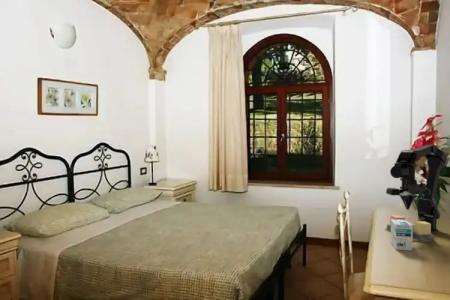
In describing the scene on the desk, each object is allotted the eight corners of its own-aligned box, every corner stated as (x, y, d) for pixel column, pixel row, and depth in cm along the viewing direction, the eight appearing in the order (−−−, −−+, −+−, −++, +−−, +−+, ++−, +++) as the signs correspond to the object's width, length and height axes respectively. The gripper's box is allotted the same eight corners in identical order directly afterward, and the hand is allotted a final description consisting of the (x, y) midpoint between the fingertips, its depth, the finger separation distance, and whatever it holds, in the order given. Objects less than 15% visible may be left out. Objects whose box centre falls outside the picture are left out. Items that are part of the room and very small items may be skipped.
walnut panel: (409, 229, 193) (409, 224, 193) (434, 241, 172) (434, 235, 172) (385, 229, 193) (385, 224, 193) (407, 241, 172) (407, 235, 172)
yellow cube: (424, 231, 178) (424, 221, 178) (430, 234, 173) (430, 224, 173) (414, 231, 178) (414, 221, 178) (420, 234, 173) (420, 224, 173)
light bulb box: (412, 251, 158) (413, 225, 158) (395, 250, 160) (396, 224, 159) (406, 243, 169) (406, 219, 168) (389, 242, 170) (390, 218, 170)
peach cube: (399, 224, 191) (399, 215, 191) (404, 227, 186) (405, 217, 186) (390, 224, 190) (390, 215, 190) (395, 227, 186) (395, 217, 185)
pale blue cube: (409, 232, 184) (409, 222, 184) (414, 234, 179) (414, 224, 179) (399, 232, 184) (399, 222, 183) (404, 234, 179) (404, 224, 179)
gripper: (397, 179, 173) (397, 213, 174) (437, 178, 174) (436, 212, 175) (386, 176, 184) (385, 208, 185) (423, 175, 185) (422, 207, 186)
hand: (407, 209), depth 183 cm, fingers closed
